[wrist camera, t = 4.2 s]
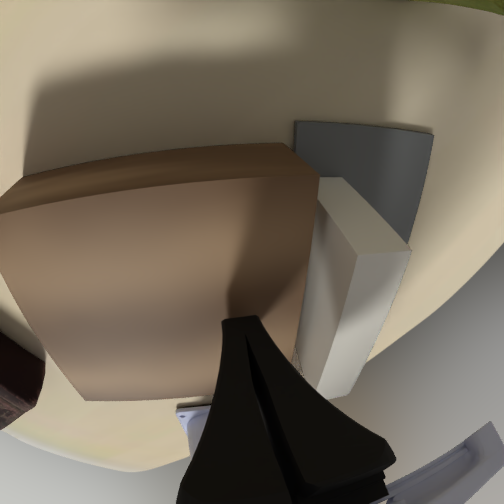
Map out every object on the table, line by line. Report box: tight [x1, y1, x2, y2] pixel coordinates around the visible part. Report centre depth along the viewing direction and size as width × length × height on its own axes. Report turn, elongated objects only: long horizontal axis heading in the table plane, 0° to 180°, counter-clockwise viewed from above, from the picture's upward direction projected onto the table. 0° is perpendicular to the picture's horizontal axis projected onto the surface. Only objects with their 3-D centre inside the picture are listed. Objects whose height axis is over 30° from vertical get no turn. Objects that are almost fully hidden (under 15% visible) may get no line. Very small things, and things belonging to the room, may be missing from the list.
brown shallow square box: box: [0, 143, 320, 401], centre depth 13 cm, size 12×12×4 cm
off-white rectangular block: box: [295, 177, 412, 400], centre depth 13 cm, size 9×6×2 cm
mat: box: [293, 121, 434, 244], centre depth 16 cm, size 14×8×1 cm, turn 179°
